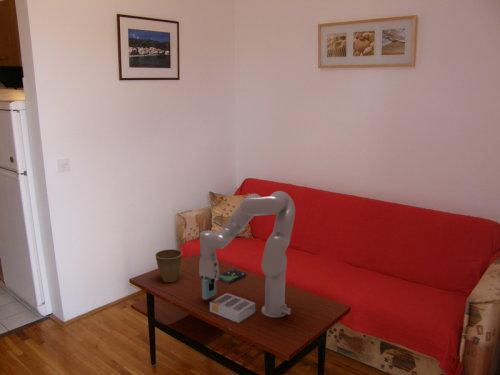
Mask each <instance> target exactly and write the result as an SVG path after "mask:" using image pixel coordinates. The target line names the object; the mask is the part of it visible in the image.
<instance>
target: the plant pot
mask: <svg viewBox="0 0 500 375" xmlns="http://www.w3.org/2000/svg"><path fill="white" fill-rule="evenodd" d="M154 254H155V260H156V264H157V268H158V271H159V273H160V277H161V279H162V280H163V282H164V283H167V282H171V283H174V281H175V282H176V281H177V280H178V277H179V273H180V270H181V265H182V260H183V252H182V251H181V250H179V249H174V248H172V249H170V248H169V249H163V250H159V251H157V252H156V253H154Z"/></svg>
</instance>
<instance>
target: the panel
mask: <svg viewBox="0 0 500 375" xmlns="http://www.w3.org/2000/svg"><path fill="white" fill-rule="evenodd" d="M209 284H210V281H209V278H208V277H207V278H205V279H201V294H202V296H201V297H202V300H209V299H210V298H212V297H214V296H215V295H217V281H215V282H214V290H212V291H209Z"/></svg>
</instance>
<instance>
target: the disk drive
mask: <svg viewBox="0 0 500 375" xmlns="http://www.w3.org/2000/svg"><path fill="white" fill-rule="evenodd" d="M246 277H247V273H246V272H243V271H241V270H237V269H236V268H232V269H230V270H228V271H225V272H222V273H219V276H218V278H219V280H218V281H219V282H222V283H224V284H227V285H231V284H234V283H236V282H238V281H241V280H243V279H245V278H246Z"/></svg>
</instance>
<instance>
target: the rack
mask: <svg viewBox="0 0 500 375" xmlns="http://www.w3.org/2000/svg"><path fill="white" fill-rule="evenodd" d="M209 312H210V313H213V314H214V315H215V314H216V315H218V316H220V317H222V318H225V319H228V320H230V321H232V322H236V323H238V324H240V323H241V322H243V321H245V320H246V319H247V318H249V317H251V316H252V315H254V314H255V313H256V302H254V301H252V300H251V301H250V300H248V299H245V298H243V297H239V296H237V295H233V294H231V293H228V292H226V293H224V294H222V295H220V296H218V297H217V298H215V299H213V300H211V301H209Z"/></svg>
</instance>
